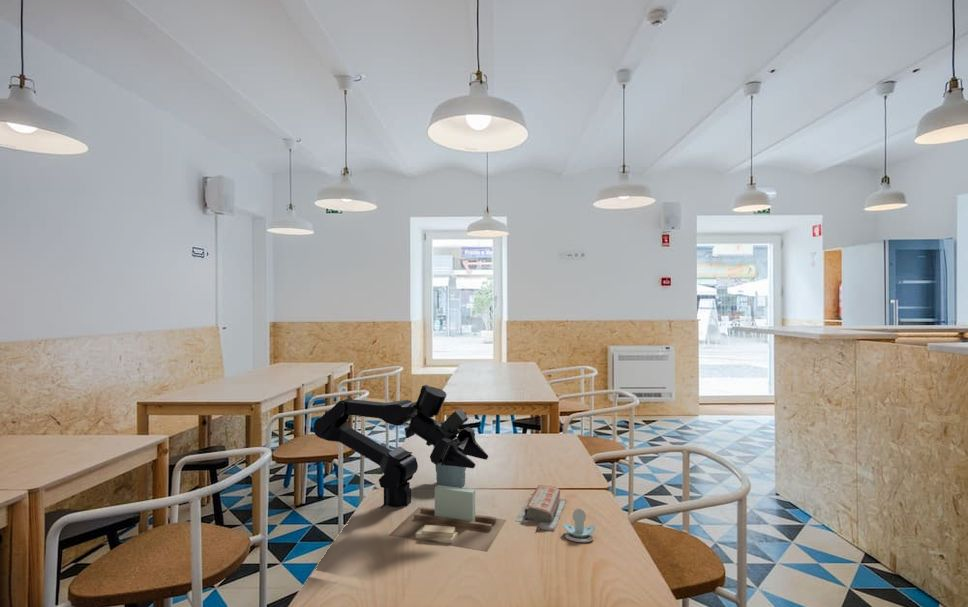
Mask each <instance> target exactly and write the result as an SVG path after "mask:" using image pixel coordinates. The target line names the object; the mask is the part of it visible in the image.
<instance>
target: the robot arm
mask: <svg viewBox="0 0 968 607" xmlns="http://www.w3.org/2000/svg"><path fill="white" fill-rule="evenodd" d="M447 396H448V395H447V393H446V391H445V390H443V389H441V388H437V387H435V386H430V385H427V384H425V385H422V386H421V389H420V392H419V395H418V398H417V399H416V401H415V402H414V401H412V400H409V399H404V400H395V401H390V402H389V401H388V402H383V401H382V402H381V401H370V400H361V399H360V400H359V399H353V398H351V397H348V398H345V399H341V400H339V401H337V402H336V404H335V405H334V406H332V407H331V409H328V411H326V412H325V413H324V414H323V415H322V416H321V417H318V418H317V419H316V420H315V421H314V423H313V431H314V435H315V436H316V438H319V439H321V440H325V441H328V442H337V443H340V444H342V445H344V446H346V447H347V448H349V449H351V450H352V451H354V452H356V453H357V454H359V455H361V456H363V457H364V458H366V459H368V460H370V461H371V462H373V463H374V464H375V465H378V466H379V467H380V469H381V471H382V473H383V474H382V476H380V478H379V479H378V481H379V486H380V487H381V489H383V503H382V504H381V506H380V509H381V510H382V509H383V508H384V507H386V506H387V507H391V508H400V507H408V506H409V505H410V504H411V503H412V488H410V487H411V486H410V485H411V484H410V480H412V479H413V477H414V474H415V473H417V471H418V461H417V458H416V457H415V456H414V455H413V452H412V451H408V450H406V449H405V448H404V447H402V446H398V447H396V448H394V449H392V450H391V449H389V448H387V447H386V446H384V445H382V444H380V443H378V442H377V441H375V440H373V439H371V438H370V437H368V436H366V435H365V434H362V433H361V432H359V431H357V430H355V429H353V428H352V427H351V426H350V424H349V422H348V420H349V419H350V417H351V416H356V417H363V418H365V417H366V418H375V419H380V420H382V421H383V422H385V424H386V423H387V424H389V425H393V426H396V427H397V426H398V427H399V426H401V425H404V424H406V423H408V422H409V424H408V426H406V427H404V432H405V433H404V434H405V438H406V439H409V438H411V437H412V436H415V435H416V436H417V437H420V438H421V439H422V440H424V441H426V443H425V445H426V446H428V447H430V446H432V447H433V446H434V447H433V449H432V451H431V453H430V455H429V458H430V462H431V463H432V464H434V465H437V466H438V465H440V464H441V465H442V466H443V465H447V466H457V467H466V469H467V468H468V469H475V467H476V463H475V462H474V461H472V459H470V458H469V457H473V458H477V459H481V460H488V458H489V455H488V454H487V453H486V451H485V450H484V449H483V448H482V447H481V446H480V444H479V443H478V442H477V440H476V433H475V429H474V428H471V427H468V426H467V427H465V428H463V429H459V428H460V427H461V426H462V425H463V424H464V423H465V422H467V421H468V420H469V417H468V416H467V412H466V411H465V410H463V409H455V411H454V412H452V414H451V415H449V416H448V418H447V419H446V420H445V421H444V420H443V421H440V422H439V421H438V420H436V419H434V418H433V417H435V416H439V415H440V412H441V410H442V407H443V406H444V402H445V400H446V398H447ZM465 455H467V456H465ZM468 456H469V457H468ZM442 459H443V460H442Z"/></svg>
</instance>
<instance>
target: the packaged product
mask: <svg viewBox="0 0 968 607" xmlns="http://www.w3.org/2000/svg"><path fill="white" fill-rule="evenodd" d="M560 494H561V489H560V488H558V487H557V486H552V485H550V486H549V485H545V484H544V485H543V484H542V485H540V484H539V485H537V487H536V488H535V489H534V491H533V493H531V494H530V496H529V498H528V499H527V500H526V502H525V504H524V506H522V508H521V511H520V512H519V513H518V516H517V518H515V522H518V523H525V524H526V523H528V522H538V525H537V526H536V529H538V528H541V530H546V529H549V530H548V531H552V530H556V528H557V526H558V523H559V520H560V518H561V516H562V513H563V511H562V510H564V507H565V505H566V502H567V499H565V498H561V495H560ZM560 515H561V516H560Z"/></svg>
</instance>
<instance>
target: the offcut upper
mask: <svg viewBox="0 0 968 607" xmlns="http://www.w3.org/2000/svg"><path fill="white" fill-rule="evenodd" d="M454 533H455V527H451V526H435V525H425V526H424V528H423V530H422V535H426V536H441V537H453V535H454Z"/></svg>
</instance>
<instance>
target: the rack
mask: <svg viewBox="0 0 968 607" xmlns="http://www.w3.org/2000/svg"><path fill="white" fill-rule="evenodd" d="M506 522H507V519H502V518H497V517H495V516H488V515H481V514H475V522H473V521H466V520H460V519H453V518H446V517H439V516H435V508H433V507H426V506H425V507H424V506H419V507H418V508H416V509H415V510H414V511H413V512H412V513H411V514H410V515H408V517H407V518H405V519H404V520H403V521H402V522H400V524H399V525H398V526H397V527H396V528H395V529H393V530H392V531H391V532H390V533H389V534H388V536H392V537H398V538H403V539H409V540H415V541H420V542H427V543H433V544H440V545H446V546H451V547H456V548H457V547H458V548H464V549H471V550H475V551H482V552H488V550H489V549H490V548H491V546H492V545H493V542H494V541H495V539H496V538H497V536H498V535H499V533H500V532H501V530H502V528H503V526H504V525H505V523H506ZM425 525H435V526H451V527H455V532H458V537H457V538H456V539H455V541H454V542H453V543H452V544H451V543H445V542H438V541H432V540H426V539H420V538H416V532H417V531H418V530H419V529H420V528H421V527H424V526H425Z"/></svg>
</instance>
